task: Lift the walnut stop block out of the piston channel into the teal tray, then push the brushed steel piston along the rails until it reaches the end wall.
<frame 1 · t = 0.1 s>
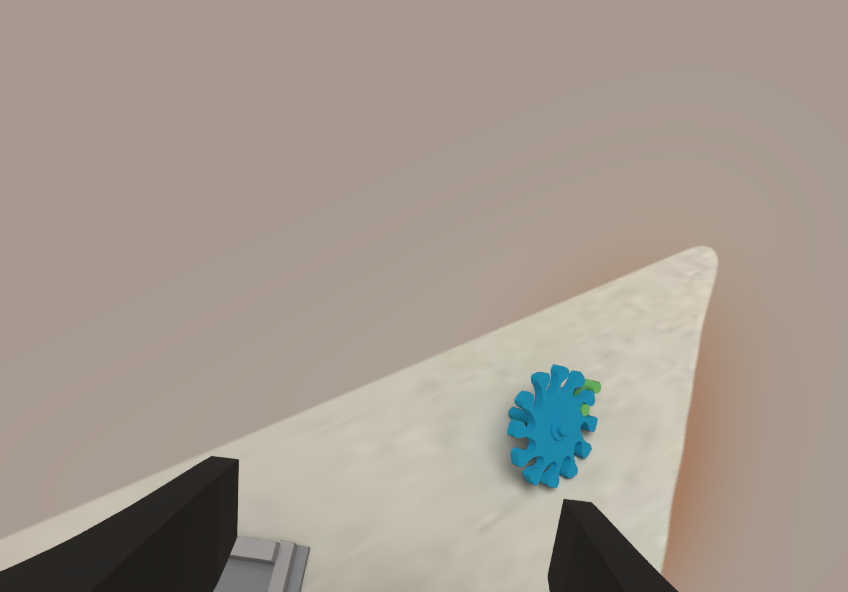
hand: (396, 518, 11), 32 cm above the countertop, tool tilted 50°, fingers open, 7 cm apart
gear: (545, 436, 46), on the countertop
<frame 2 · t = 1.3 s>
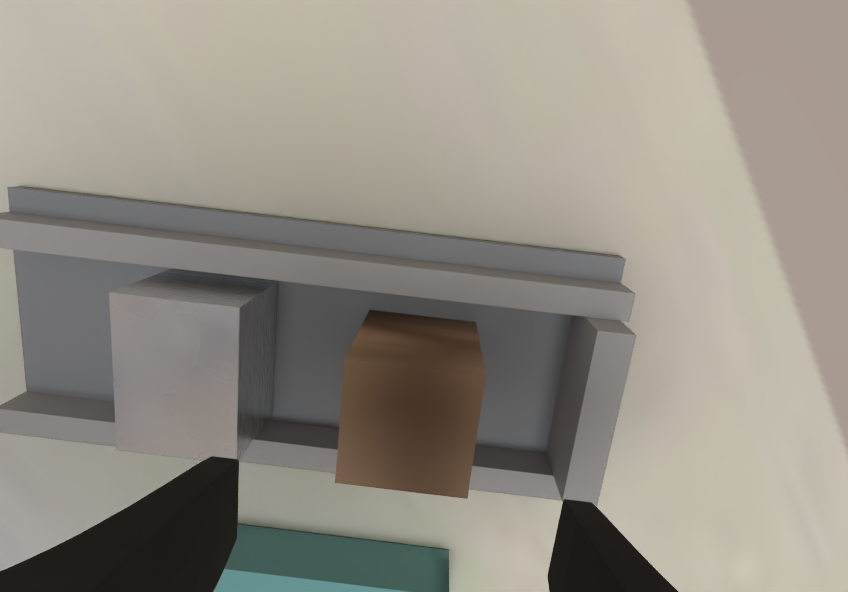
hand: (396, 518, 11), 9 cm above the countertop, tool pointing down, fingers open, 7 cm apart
stop block: (416, 365, 20), point 1 cm above the countertop, touching piston housing
piston housing: (311, 346, 20), on the countertop
piston: (201, 360, 18), point 3 cm above the countertop, slide at 0.0 cm
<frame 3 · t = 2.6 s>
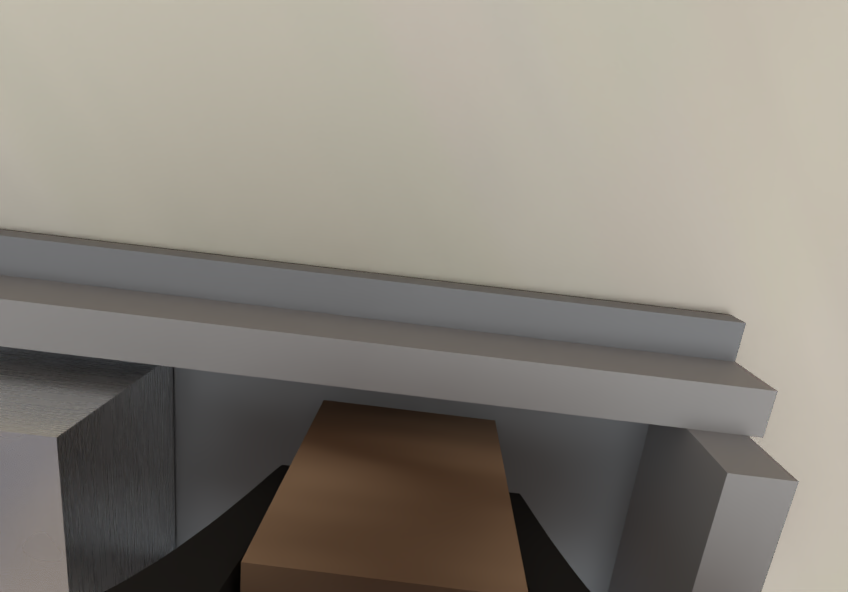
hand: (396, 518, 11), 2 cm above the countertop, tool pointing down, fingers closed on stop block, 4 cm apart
stop block: (400, 484, 12), point 1 cm above the countertop, touching gripper, piston housing
piston housing: (236, 450, 13), on the countertop
piston: (34, 496, 11), point 3 cm above the countertop, slide at 0.0 cm
when the fingers open (3 cm above the countertop, at t = 6.4 s): stop block drops 1 cm, resting on tray.
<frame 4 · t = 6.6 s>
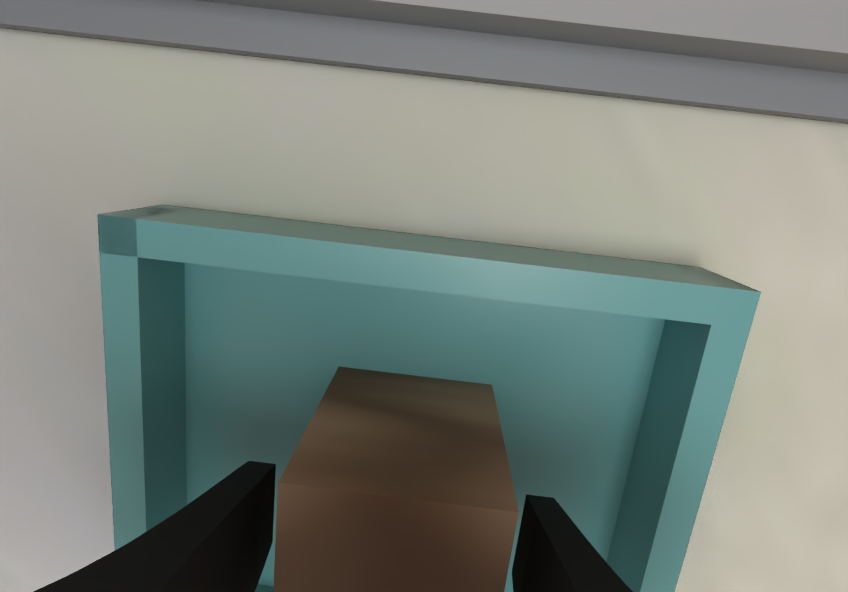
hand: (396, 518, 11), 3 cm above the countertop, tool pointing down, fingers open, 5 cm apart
stop block: (407, 444, 14), resting on tray
tray: (406, 441, 14), on the countertop
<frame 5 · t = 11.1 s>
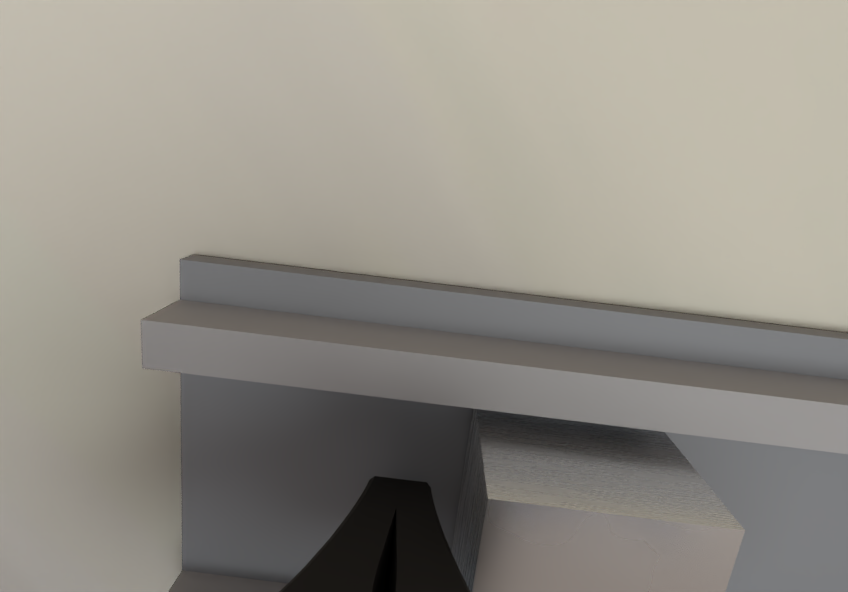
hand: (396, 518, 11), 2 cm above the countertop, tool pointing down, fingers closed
piston housing: (640, 505, 13), on the countertop
piston: (559, 569, 10), point 2 cm above the countertop, slide at 0.7 cm, touching gripper
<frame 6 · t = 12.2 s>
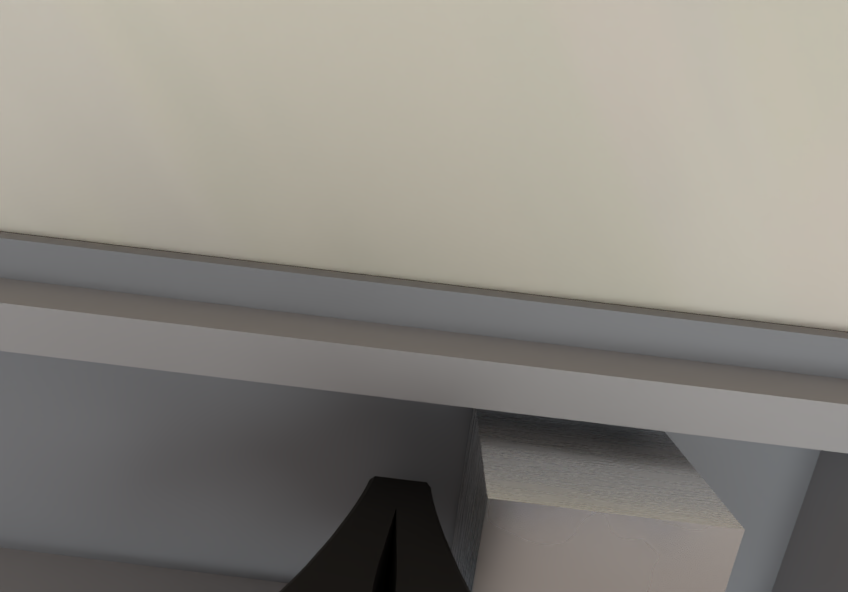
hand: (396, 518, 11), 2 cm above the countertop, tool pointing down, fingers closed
piston housing: (385, 473, 13), on the countertop
piston: (559, 568, 10), point 2 cm above the countertop, slide at 7.1 cm, touching gripper
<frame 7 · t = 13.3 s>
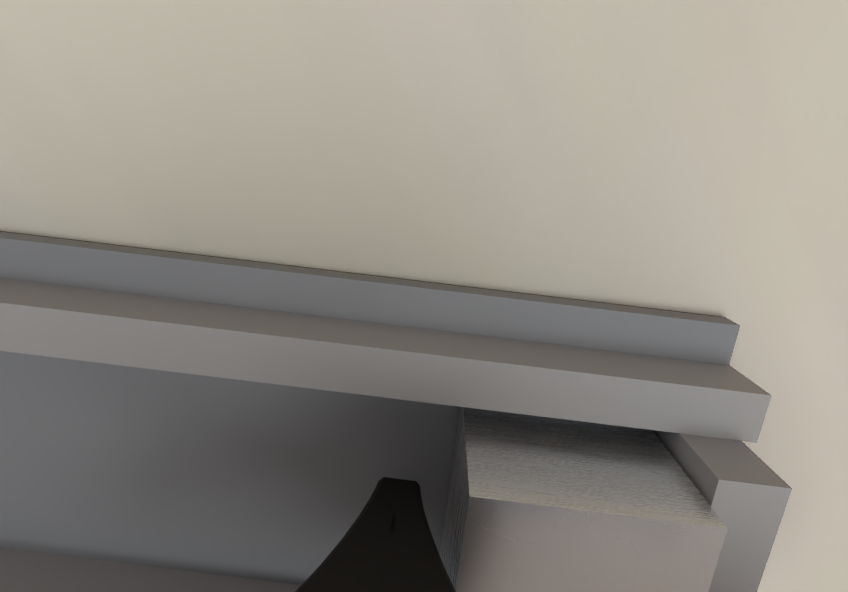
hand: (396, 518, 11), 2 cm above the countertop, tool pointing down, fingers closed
piston housing: (224, 453, 13), on the countertop
piston: (546, 567, 10), point 3 cm above the countertop, slide at 10.9 cm, touching gripper
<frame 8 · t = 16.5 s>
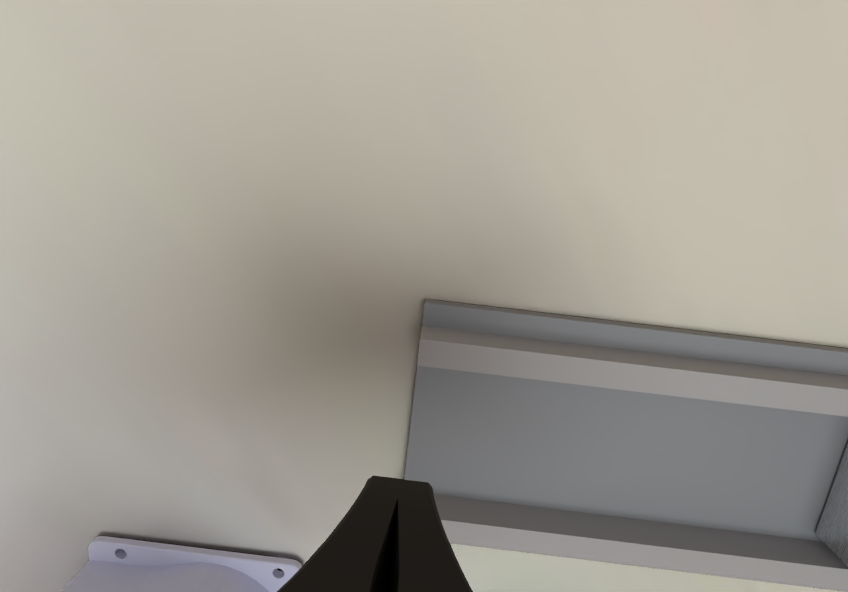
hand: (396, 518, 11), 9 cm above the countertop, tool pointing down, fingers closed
piston housing: (686, 449, 21), on the countertop
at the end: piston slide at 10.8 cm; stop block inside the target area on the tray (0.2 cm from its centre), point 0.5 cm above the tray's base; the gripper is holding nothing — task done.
